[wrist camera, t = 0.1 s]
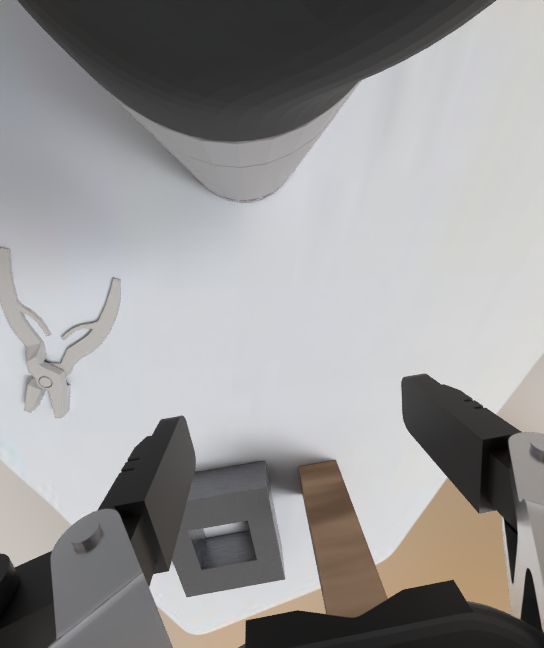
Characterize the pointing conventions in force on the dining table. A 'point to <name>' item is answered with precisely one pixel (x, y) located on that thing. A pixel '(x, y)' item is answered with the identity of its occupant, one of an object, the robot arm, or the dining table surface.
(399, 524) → the dining table surface
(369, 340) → the dining table surface
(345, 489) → the walnut peg
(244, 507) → the socket block
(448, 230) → the dining table surface
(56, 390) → the pliers
